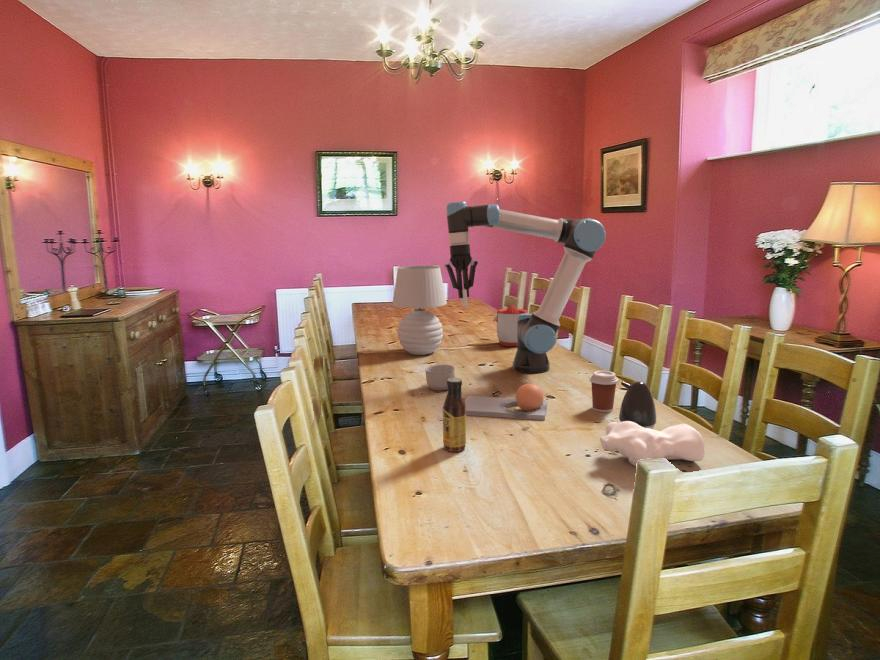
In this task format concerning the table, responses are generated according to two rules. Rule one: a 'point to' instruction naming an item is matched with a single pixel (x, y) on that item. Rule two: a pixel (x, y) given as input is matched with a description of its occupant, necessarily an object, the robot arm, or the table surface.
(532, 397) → the ball
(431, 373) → the teacup
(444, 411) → the sauce bottle
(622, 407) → the black egg shaped figurine
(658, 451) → the torso sculpture
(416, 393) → the table surface
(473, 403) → the board
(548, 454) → the table surface
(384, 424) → the table surface
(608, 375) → the coffee cup
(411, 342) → the table lamp
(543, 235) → the robot arm
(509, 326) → the citrus juicer
